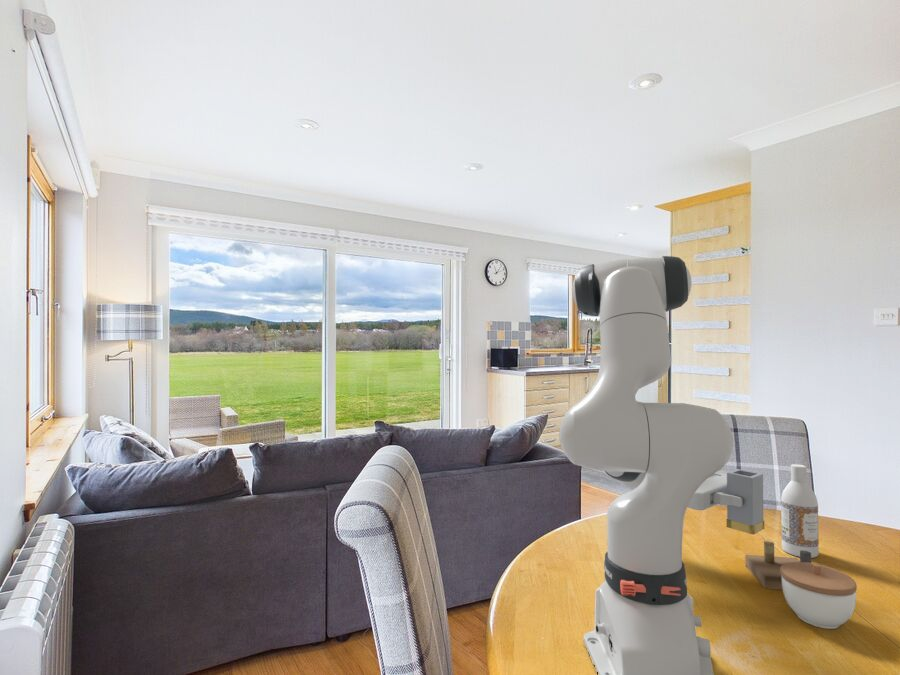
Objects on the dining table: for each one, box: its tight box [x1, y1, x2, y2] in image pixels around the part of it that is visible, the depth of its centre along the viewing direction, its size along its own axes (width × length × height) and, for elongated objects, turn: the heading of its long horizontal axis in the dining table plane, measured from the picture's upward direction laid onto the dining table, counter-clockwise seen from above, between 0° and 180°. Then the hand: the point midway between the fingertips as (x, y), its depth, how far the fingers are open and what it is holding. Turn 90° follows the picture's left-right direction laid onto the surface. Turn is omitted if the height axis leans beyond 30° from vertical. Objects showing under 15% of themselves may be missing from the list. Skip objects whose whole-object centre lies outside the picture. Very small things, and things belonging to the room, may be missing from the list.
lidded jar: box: [780, 562, 858, 630], centre depth 87 cm, size 11×11×9 cm
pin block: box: [744, 540, 812, 591], centre depth 101 cm, size 10×10×6 cm
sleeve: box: [726, 468, 765, 535], centre depth 100 cm, size 5×5×11 cm
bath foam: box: [780, 463, 820, 559], centre depth 114 cm, size 7×7×20 cm
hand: (750, 499), depth 99 cm, fingers closed on sleeve, 5 cm apart
